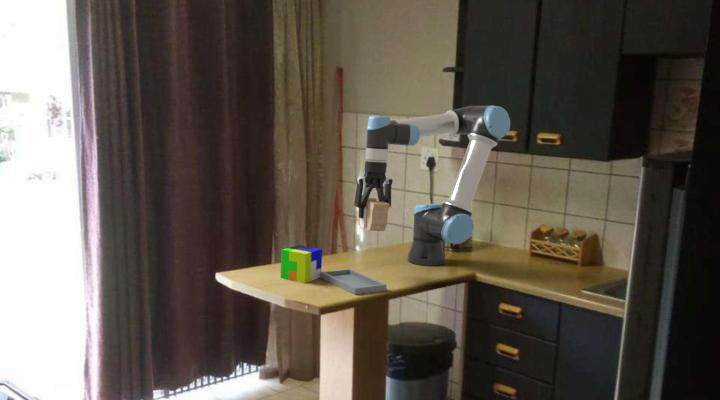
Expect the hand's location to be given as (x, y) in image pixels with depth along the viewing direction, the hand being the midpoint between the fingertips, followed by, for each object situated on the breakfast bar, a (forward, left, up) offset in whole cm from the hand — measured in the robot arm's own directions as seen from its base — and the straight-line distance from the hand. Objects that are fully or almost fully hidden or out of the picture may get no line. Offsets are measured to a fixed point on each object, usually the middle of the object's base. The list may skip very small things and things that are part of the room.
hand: (371, 227), depth 220 cm
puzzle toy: (+22, -9, -18) cm, 30 cm away
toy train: (0, 0, -1) cm, 1 cm away
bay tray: (+10, +5, -18) cm, 21 cm away
